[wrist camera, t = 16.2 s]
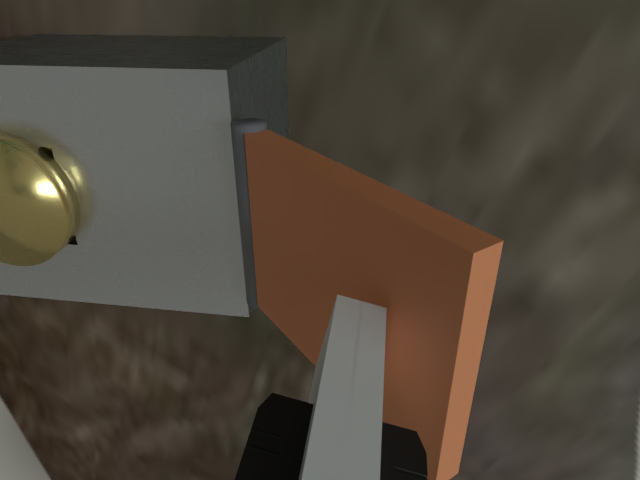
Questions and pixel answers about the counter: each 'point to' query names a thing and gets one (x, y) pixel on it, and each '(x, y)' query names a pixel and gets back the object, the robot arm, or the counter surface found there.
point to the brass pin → (33, 203)
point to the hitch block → (143, 160)
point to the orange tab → (368, 277)
